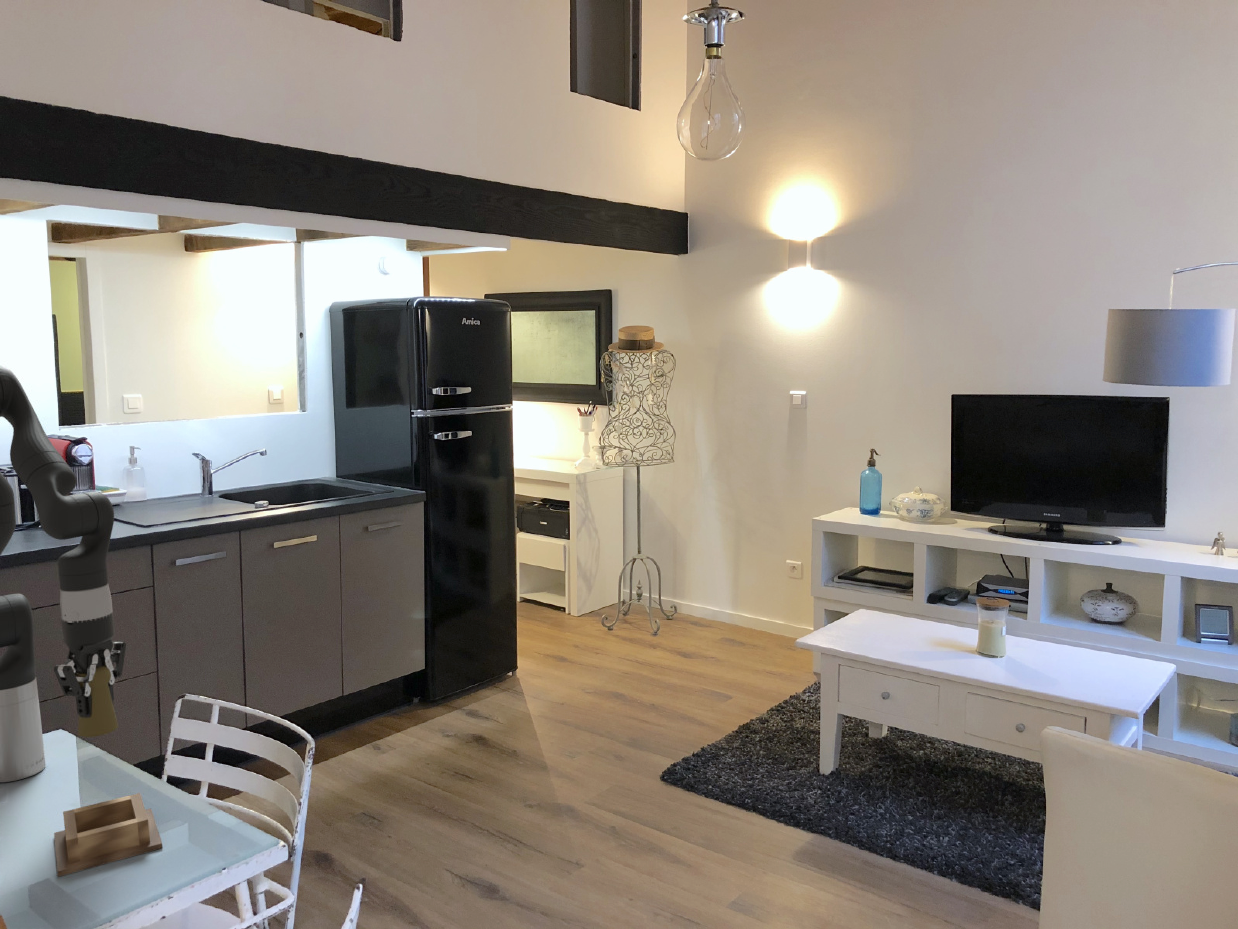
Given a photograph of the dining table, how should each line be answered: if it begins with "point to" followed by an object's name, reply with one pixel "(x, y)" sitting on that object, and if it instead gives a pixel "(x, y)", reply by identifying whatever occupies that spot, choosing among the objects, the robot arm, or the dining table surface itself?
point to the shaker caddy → (105, 834)
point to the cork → (99, 706)
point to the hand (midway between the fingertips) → (96, 711)
